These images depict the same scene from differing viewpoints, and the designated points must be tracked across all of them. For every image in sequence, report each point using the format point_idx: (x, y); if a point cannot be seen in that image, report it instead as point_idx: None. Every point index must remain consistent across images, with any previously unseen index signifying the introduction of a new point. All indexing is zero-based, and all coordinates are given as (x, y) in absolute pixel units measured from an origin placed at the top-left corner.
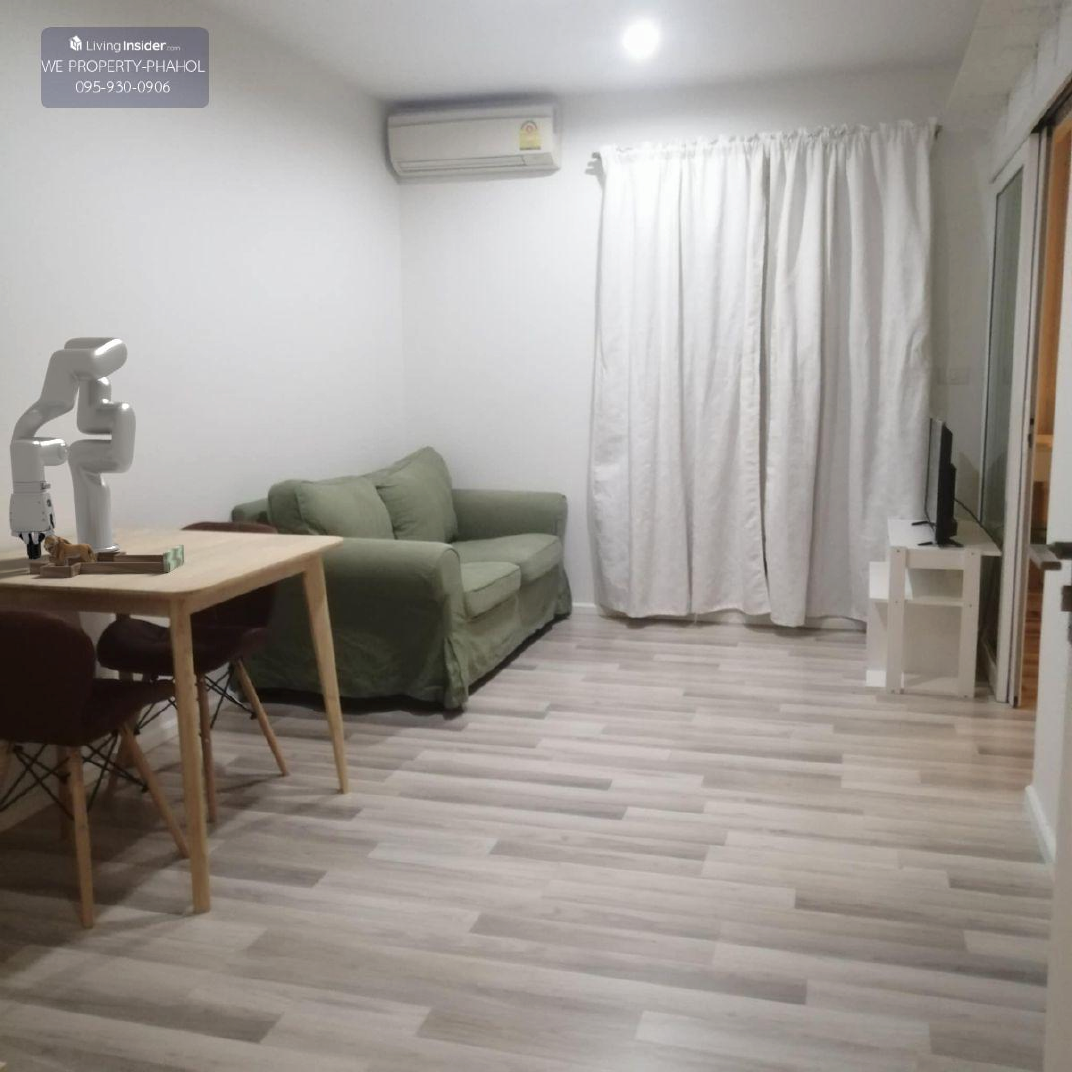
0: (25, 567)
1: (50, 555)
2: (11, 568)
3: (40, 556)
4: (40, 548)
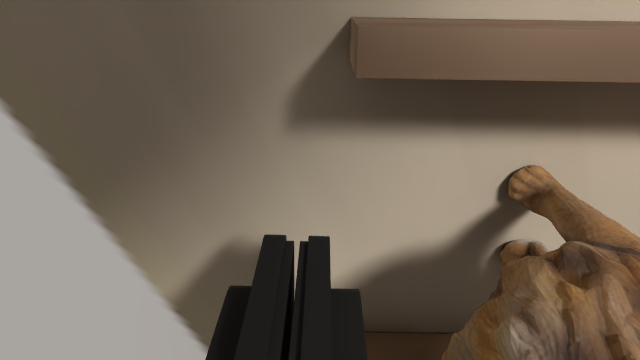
0: (175, 150)
1: (363, 43)
2: (85, 186)
3: (328, 238)
4: (363, 354)
